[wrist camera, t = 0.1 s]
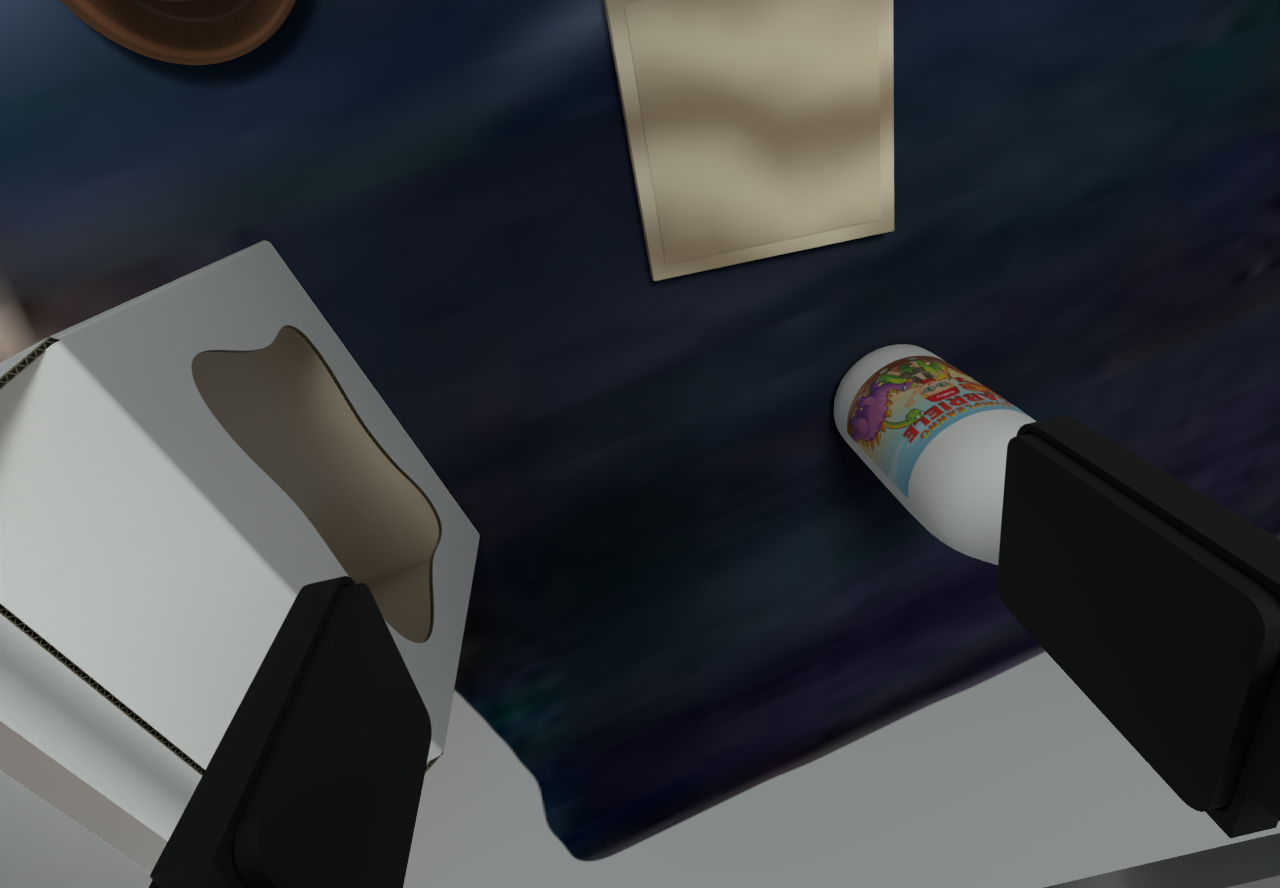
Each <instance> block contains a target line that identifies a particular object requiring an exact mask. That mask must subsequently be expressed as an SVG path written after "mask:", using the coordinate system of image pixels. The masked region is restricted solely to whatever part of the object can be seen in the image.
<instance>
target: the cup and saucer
mask: <svg viewBox="0 0 1280 888" xmlns="http://www.w3.org/2000/svg"><path fill="white" fill-rule="evenodd" d="M60 1H61V2H62V3H63V4H64V5H66V6H67V7H68V8H69V9H70V10H71V11H72V12H73V13H74V14H75V15H76V16H78V17H79V18H80V19H81V20H83V21H84V22H85V23H87V24H88V25H89V26H90V27H92V28H93V29H95V30H96V31H98V32H99V33H101V34H102V35H104V36H105V37H107V38H109V39H110V40H112V41H114V42H115V43H117V44H119V45H121V46H123V47H125V48H127V49H129V50H131V51H134V52H136V53H139V54H141V55H144V56H147V57H150V58H153V59H157V60H160V61H164V62H169V63H175V64H183V65H209V64H216V63H222V62H226V61H230V60H233V59H235V58H238V57H241V56H243V55H245V54H247V53H249V52H251V51H253V50H255V49H256V48H258V47H259V46H260V45H262V44H263V43H265V42H266V41H267V40H268V39H269V38H270V37H271V36H273V35H274V34H275V33H276V31H277V30H278V29H279V28H280V27H281V26H282V24H283V23H284V22H285V20H286V19H287V17H288V16H289V14H290V12H291V10H292V8H293V6H294V5H295V3H296V0H60Z"/></svg>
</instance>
